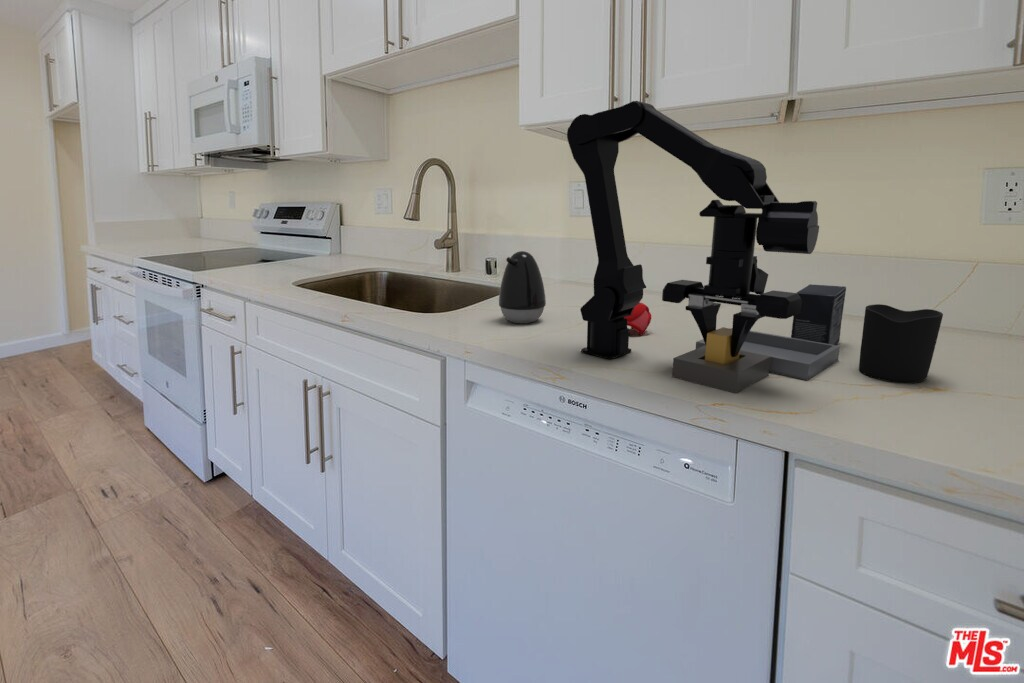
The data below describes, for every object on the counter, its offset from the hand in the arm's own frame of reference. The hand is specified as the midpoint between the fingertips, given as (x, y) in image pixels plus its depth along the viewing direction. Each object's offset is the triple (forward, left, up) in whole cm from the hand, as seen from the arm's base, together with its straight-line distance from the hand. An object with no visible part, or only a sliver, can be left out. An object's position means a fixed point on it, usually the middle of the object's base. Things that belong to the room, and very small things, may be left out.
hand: (722, 353), depth 83 cm
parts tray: (+1, +14, -4) cm, 14 cm away
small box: (+4, +28, -4) cm, 29 cm away
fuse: (0, 0, -4) cm, 4 cm away
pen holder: (+18, +19, -4) cm, 26 cm away
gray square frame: (0, 0, -4) cm, 4 cm away
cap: (-25, +13, -4) cm, 28 cm away
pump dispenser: (-48, +5, -4) cm, 48 cm away
